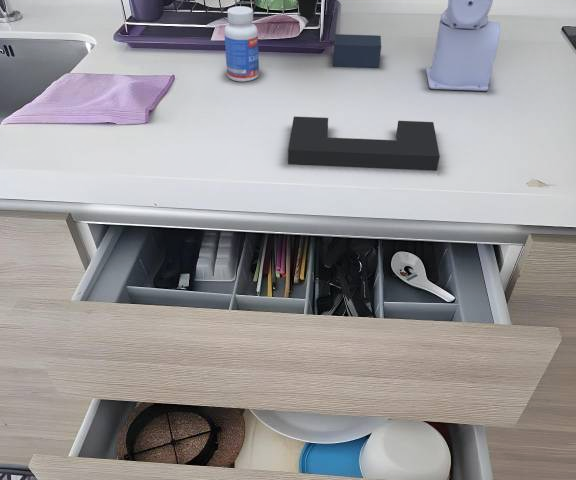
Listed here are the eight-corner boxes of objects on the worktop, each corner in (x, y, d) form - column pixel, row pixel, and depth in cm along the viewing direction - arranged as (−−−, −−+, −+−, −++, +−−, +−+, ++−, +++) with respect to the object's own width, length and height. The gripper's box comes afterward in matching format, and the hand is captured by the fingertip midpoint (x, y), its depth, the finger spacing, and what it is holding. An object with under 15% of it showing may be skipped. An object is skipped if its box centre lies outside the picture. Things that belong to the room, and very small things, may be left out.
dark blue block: (378, 57, 104) (380, 35, 101) (378, 68, 101) (381, 45, 98) (333, 55, 104) (334, 34, 102) (332, 66, 101) (334, 44, 98)
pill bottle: (254, 83, 96) (252, 17, 89) (223, 81, 97) (218, 14, 89) (262, 71, 100) (260, 5, 92) (232, 68, 100) (227, 3, 93)
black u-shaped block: (430, 135, 84) (433, 121, 83) (436, 170, 78) (439, 156, 76) (293, 130, 85) (293, 116, 84) (288, 163, 79) (288, 149, 77)
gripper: (286, -112, 87) (286, -7, 98) (278, -92, 78) (279, 22, 88) (333, -112, 87) (328, -6, 97) (330, -91, 77) (326, 23, 88)
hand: (308, 7), depth 93 cm, fingers open, 7 cm apart
